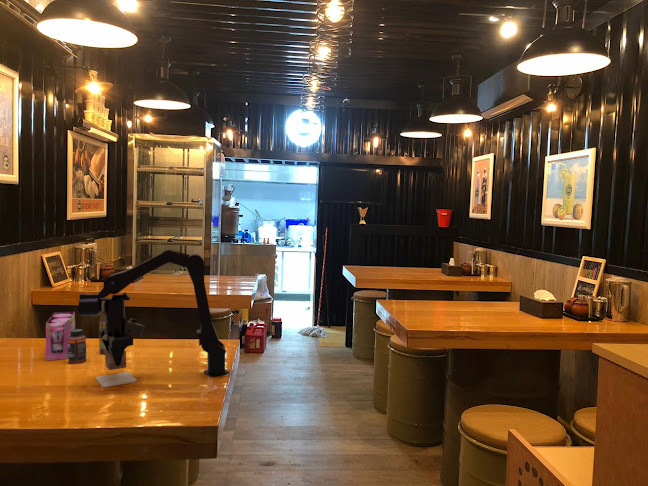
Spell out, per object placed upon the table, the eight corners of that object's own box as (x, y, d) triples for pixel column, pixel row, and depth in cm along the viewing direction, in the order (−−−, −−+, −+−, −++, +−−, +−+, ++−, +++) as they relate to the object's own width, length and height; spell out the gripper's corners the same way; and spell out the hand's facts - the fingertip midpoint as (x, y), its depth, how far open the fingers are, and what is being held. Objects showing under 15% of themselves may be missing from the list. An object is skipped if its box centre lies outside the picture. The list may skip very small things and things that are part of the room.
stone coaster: (136, 381, 163) (136, 379, 163) (102, 387, 158) (102, 385, 158) (128, 373, 172) (128, 371, 172) (95, 379, 166) (95, 377, 166)
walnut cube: (126, 367, 164) (126, 351, 164) (109, 370, 161) (109, 354, 161) (122, 363, 168) (121, 348, 168) (105, 366, 165) (105, 350, 165)
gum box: (69, 359, 188) (68, 322, 188) (44, 362, 186) (43, 324, 185) (76, 344, 211) (75, 311, 210) (54, 346, 208) (53, 312, 207)
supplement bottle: (90, 359, 188) (89, 328, 188) (80, 364, 182) (80, 332, 182) (74, 359, 189) (73, 328, 188) (64, 363, 183) (63, 331, 183)
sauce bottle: (95, 353, 197) (94, 301, 196) (107, 349, 202) (106, 298, 201) (109, 355, 194) (108, 302, 193) (121, 351, 200) (120, 299, 199)
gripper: (150, 316, 161) (150, 366, 161) (133, 307, 176) (134, 353, 177) (111, 320, 154) (113, 372, 155) (98, 311, 169) (99, 358, 170)
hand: (116, 363), depth 164 cm, fingers closed on walnut cube, 5 cm apart
